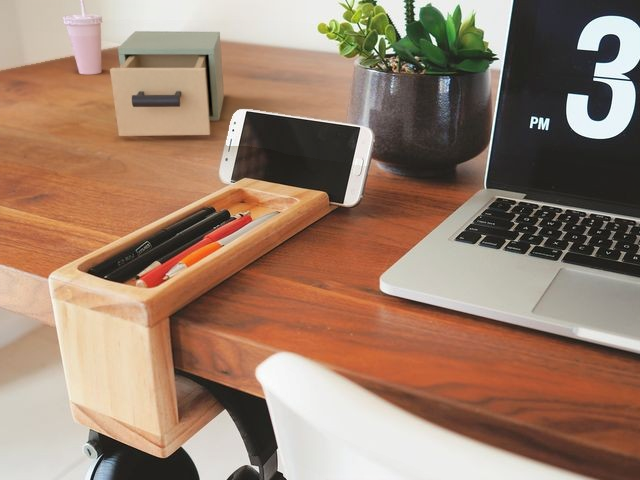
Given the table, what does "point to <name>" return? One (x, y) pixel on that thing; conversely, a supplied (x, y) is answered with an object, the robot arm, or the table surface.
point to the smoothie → (85, 40)
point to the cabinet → (182, 46)
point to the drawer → (162, 95)
